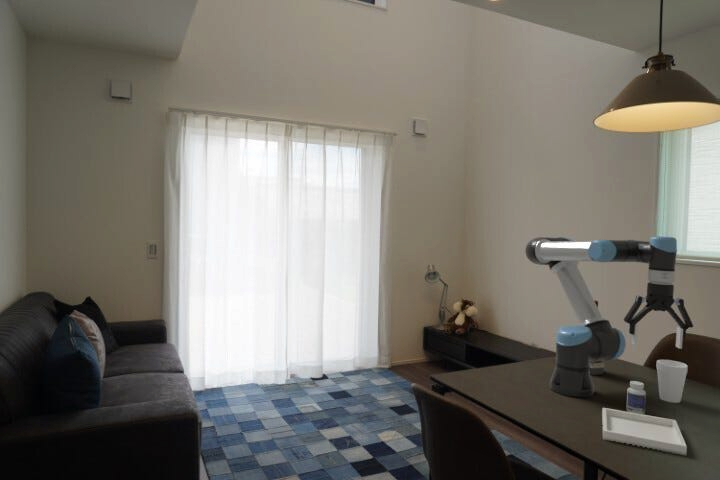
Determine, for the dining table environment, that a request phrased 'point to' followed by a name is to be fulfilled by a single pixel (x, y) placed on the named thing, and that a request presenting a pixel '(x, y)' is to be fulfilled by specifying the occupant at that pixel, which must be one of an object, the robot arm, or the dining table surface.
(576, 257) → the robot arm
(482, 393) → the dining table surface
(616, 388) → the dining table surface
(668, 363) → the foam cup
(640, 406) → the pill bottle
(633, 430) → the tray
